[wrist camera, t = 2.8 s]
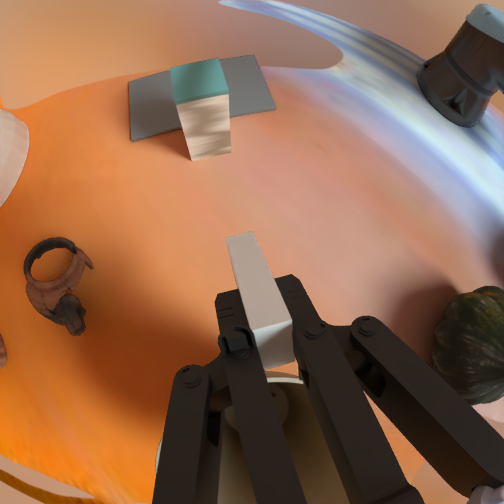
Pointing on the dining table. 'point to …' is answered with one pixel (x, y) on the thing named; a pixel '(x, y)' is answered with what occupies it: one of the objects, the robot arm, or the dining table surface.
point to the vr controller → (58, 287)
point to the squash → (472, 345)
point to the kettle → (11, 151)
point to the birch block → (203, 107)
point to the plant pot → (299, 442)
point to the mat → (164, 107)
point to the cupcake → (2, 353)
